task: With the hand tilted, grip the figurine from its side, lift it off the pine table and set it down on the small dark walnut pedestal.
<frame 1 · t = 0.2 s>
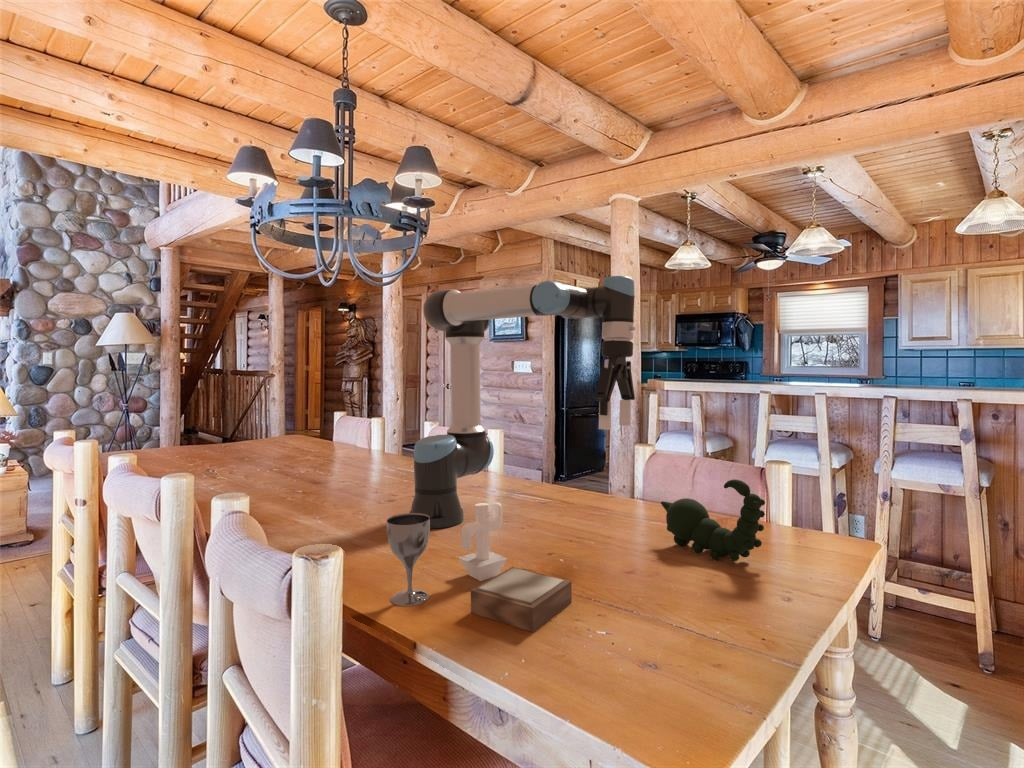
hand: (615, 427, 133), 28 cm above the table, tool pointing down, fingers open, 13 cm apart
figurine: (483, 576, 113), on the table
walnut pedestal: (522, 607, 97), on the table
toy figurine: (706, 553, 124), on the table
wine glass: (410, 598, 102), on the table
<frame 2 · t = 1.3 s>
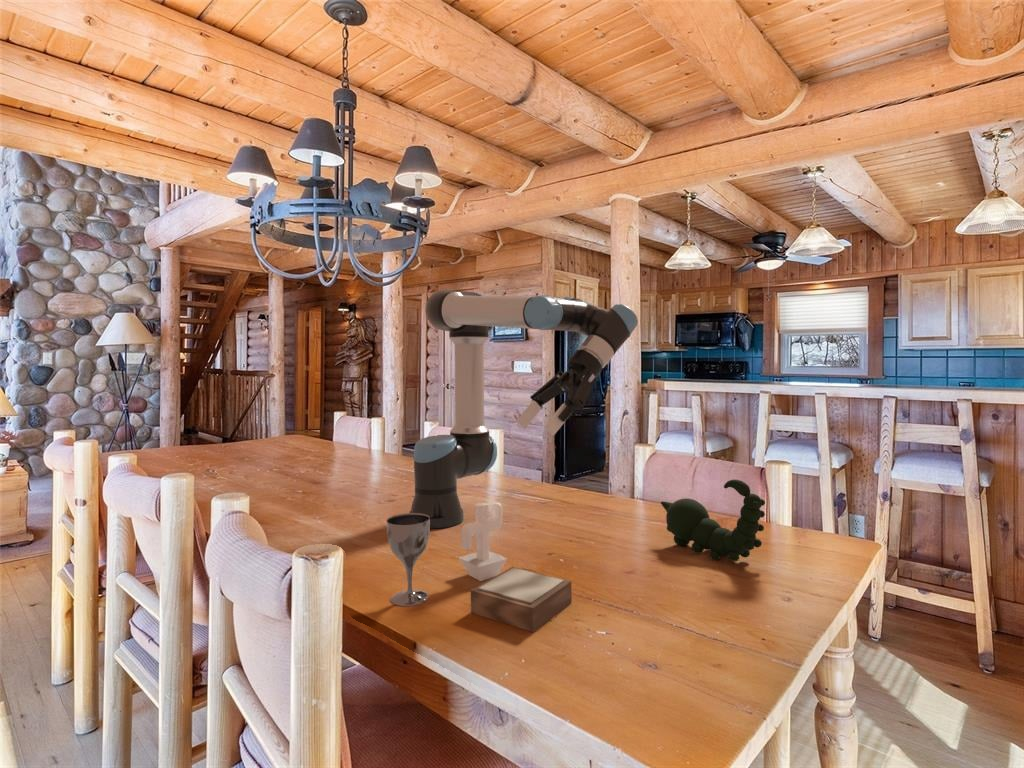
hand: (533, 428, 121), 29 cm above the table, tool tilted 45°, fingers open, 13 cm apart
nothing on the table moved.
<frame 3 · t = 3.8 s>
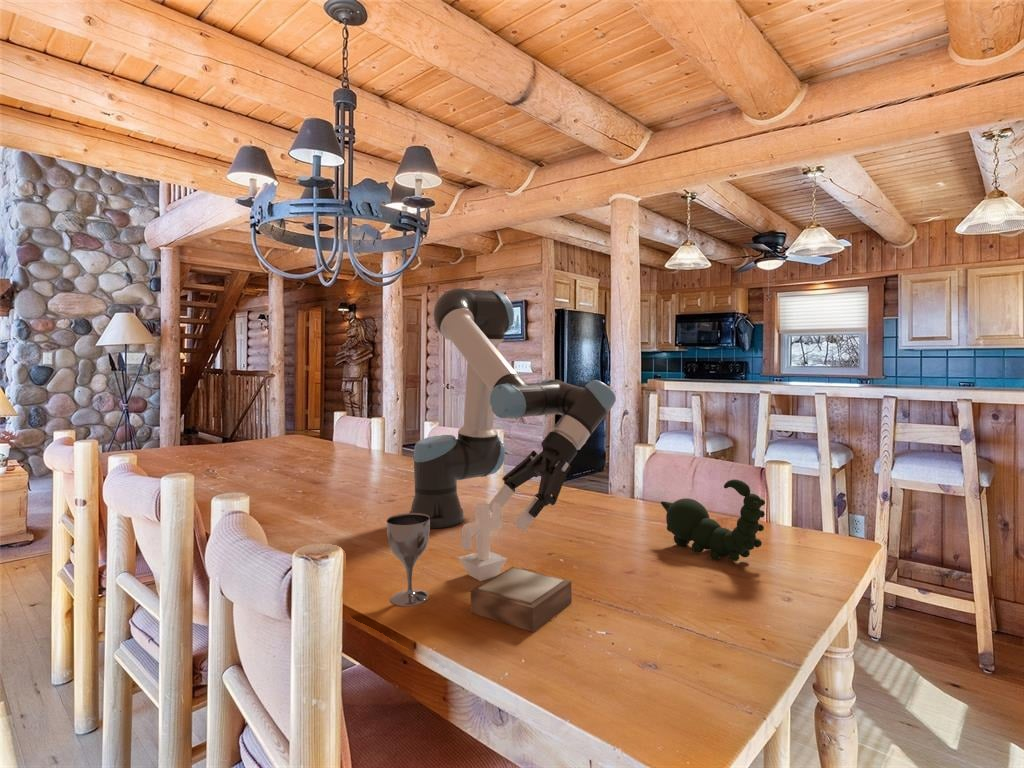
hand: (504, 519, 113), 11 cm above the table, tool tilted 45°, fingers open, 13 cm apart
nothing on the table moved.
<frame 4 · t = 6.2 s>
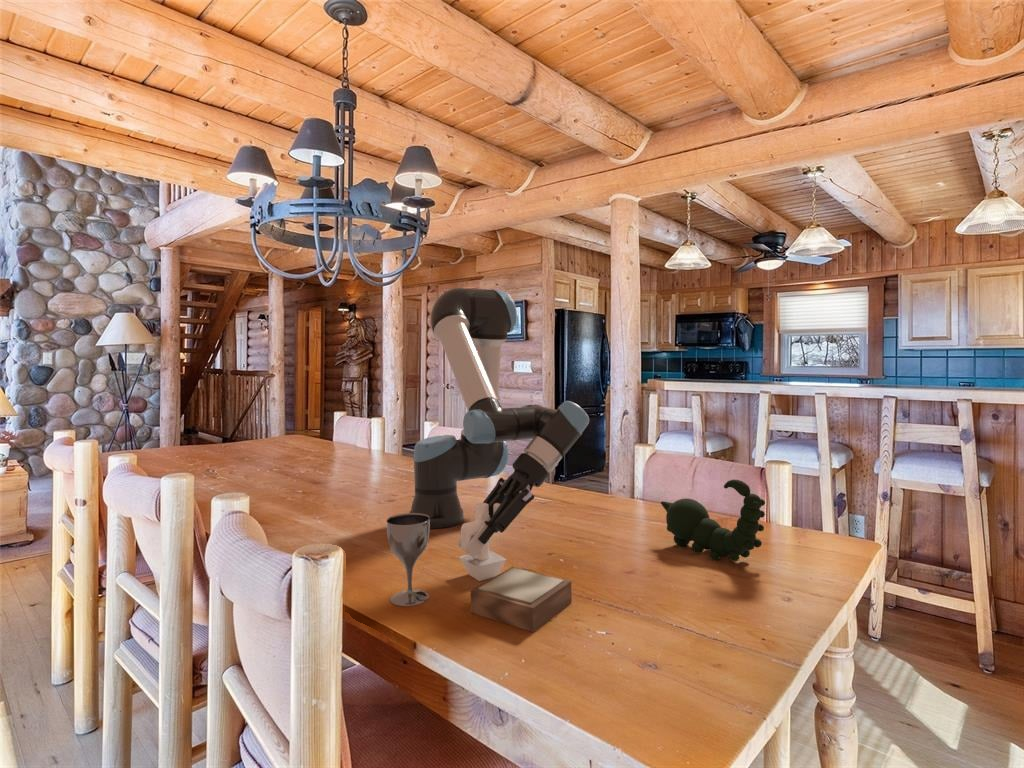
hand: (465, 551, 111), 6 cm above the table, tool tilted 45°, fingers closed on figurine, 3 cm apart
figurine: (482, 576, 113), on the table, touching gripper
everything else where it was.
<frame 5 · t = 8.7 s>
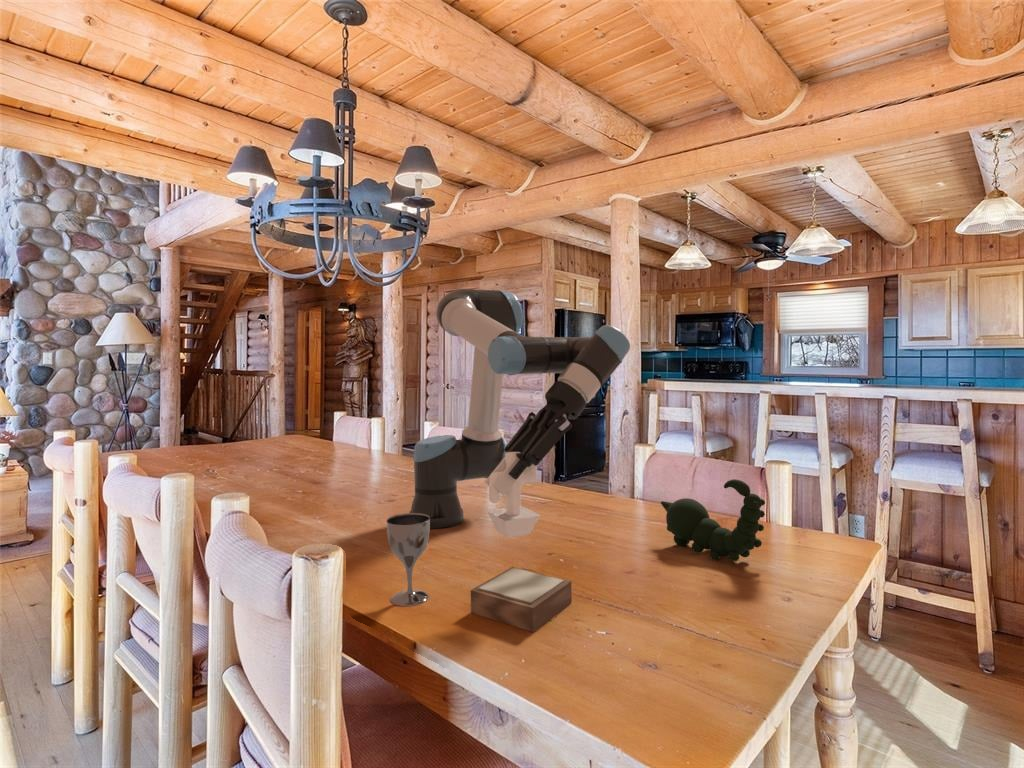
hand: (494, 488, 97), 21 cm above the table, tool tilted 45°, fingers closed on figurine, 3 cm apart
figurine: (513, 533, 100), point 12 cm above the table, touching gripper
everything else where it was.
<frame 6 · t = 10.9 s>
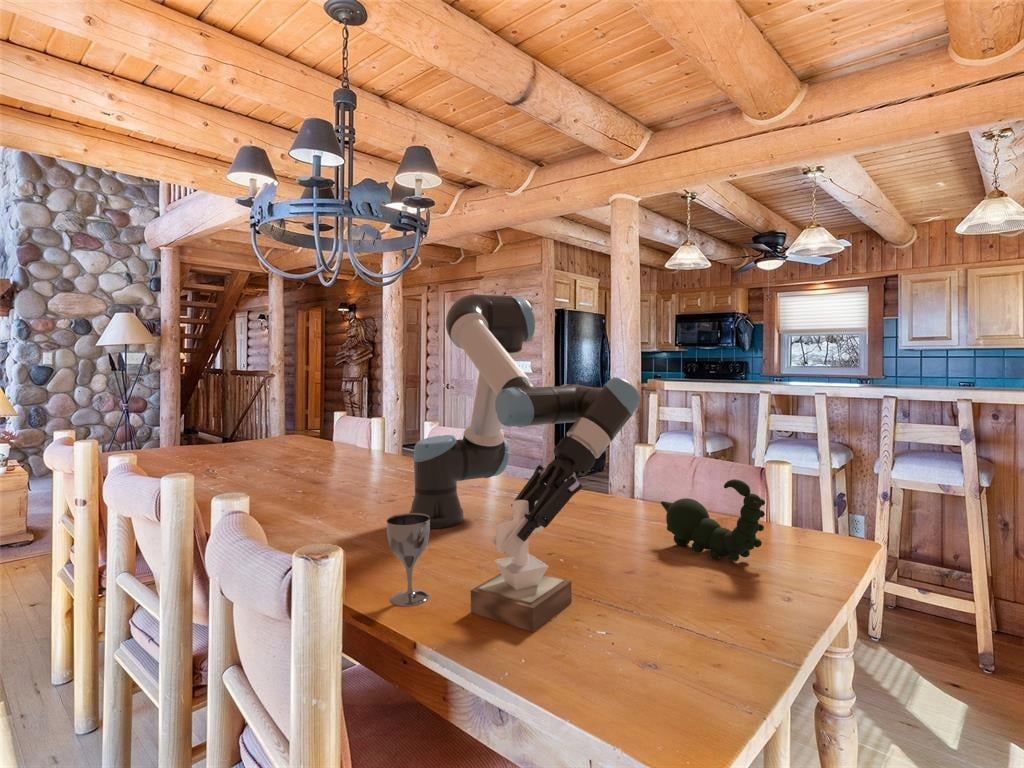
hand: (501, 549, 95), 11 cm above the table, tool tilted 45°, fingers closed on figurine, 3 cm apart
figurine: (521, 584, 98), point 4 cm above the table, touching gripper, walnut pedestal
everything else where it was.
when the fingers open (11 cm above the table, at t = 10.9 s): figurine stays where it is, resting on walnut pedestal.
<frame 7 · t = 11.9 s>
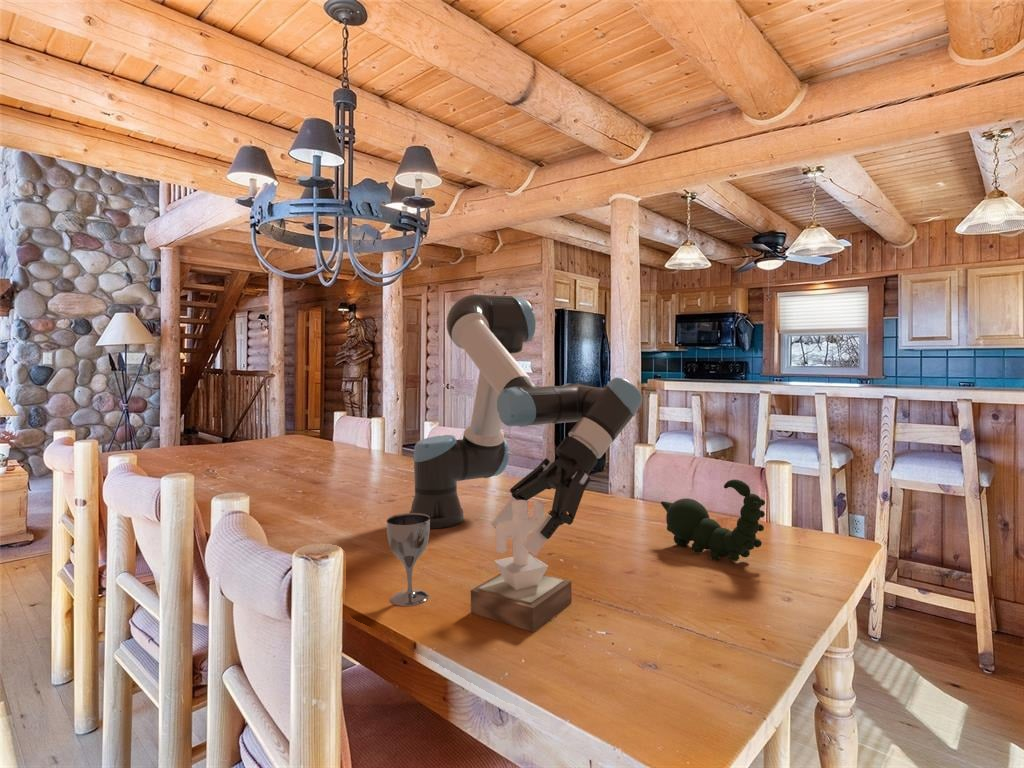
hand: (511, 539, 96), 13 cm above the table, tool tilted 45°, fingers open, 13 cm apart
figurine: (521, 584, 98), point 4 cm above the table, touching walnut pedestal
everything else where it was.
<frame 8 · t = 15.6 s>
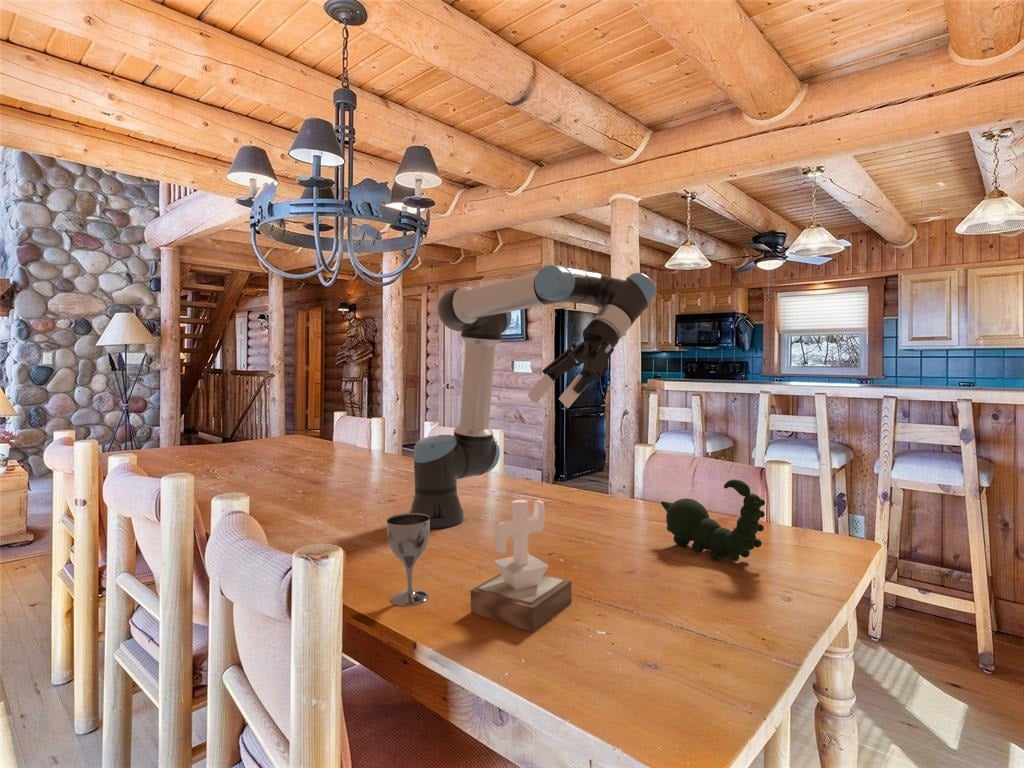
hand: (546, 401, 114), 36 cm above the table, tool tilted 45°, fingers open, 13 cm apart
nothing on the table moved.
at the end: figurine inside the target area on the walnut pedestal (0.4 cm from its centre), point 4.1 cm above the walnut pedestal's base; figurine tilted 0°; the gripper is holding nothing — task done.
